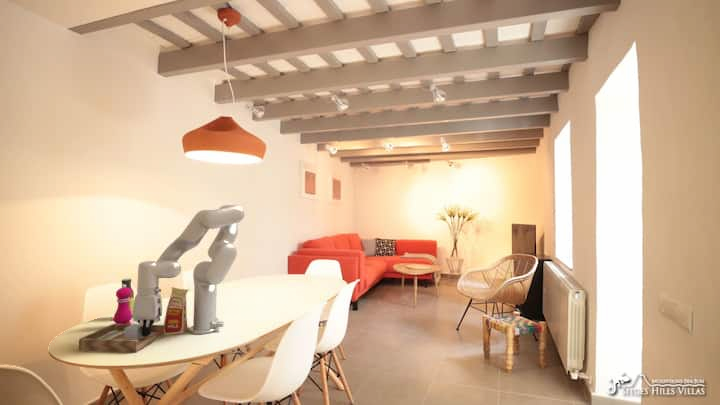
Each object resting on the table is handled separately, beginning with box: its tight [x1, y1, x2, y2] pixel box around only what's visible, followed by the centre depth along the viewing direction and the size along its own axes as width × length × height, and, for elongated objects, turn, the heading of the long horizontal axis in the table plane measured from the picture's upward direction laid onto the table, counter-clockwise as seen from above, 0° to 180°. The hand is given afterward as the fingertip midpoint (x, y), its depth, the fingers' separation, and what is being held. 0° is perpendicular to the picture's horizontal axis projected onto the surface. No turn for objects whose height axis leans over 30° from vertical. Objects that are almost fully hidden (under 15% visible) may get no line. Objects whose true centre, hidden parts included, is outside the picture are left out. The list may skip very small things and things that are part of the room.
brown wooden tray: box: [78, 323, 165, 354], centre depth 142 cm, size 23×18×4 cm
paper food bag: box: [163, 286, 189, 336], centre depth 157 cm, size 9×9×20 cm
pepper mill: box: [113, 284, 133, 324], centre depth 160 cm, size 7×7×20 cm
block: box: [124, 323, 142, 340], centre depth 141 cm, size 5×5×5 cm
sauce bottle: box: [121, 278, 135, 319], centre depth 172 cm, size 7×6×20 cm
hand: (146, 335), depth 141 cm, fingers closed
